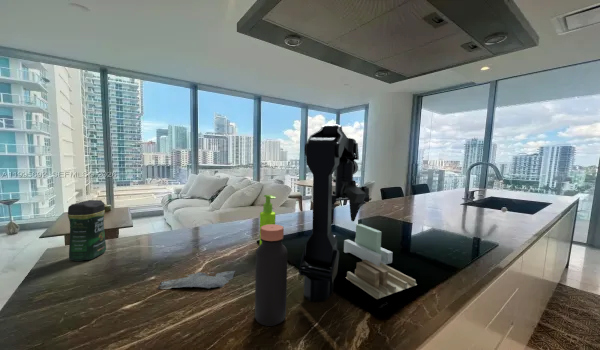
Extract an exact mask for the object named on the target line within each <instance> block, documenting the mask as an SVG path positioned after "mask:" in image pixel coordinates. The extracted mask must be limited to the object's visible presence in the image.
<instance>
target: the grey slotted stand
mask: <svg viewBox="0 0 600 350" xmlns="http://www.w3.org/2000/svg"><path fill="white" fill-rule="evenodd" d="M355 241H356V237H355V238H354V241H353V240H351V239H344V240H343V252H344V253H345V254H348V253H350V254H351V255H353V256H355V257H357V258H359V259H361V261H362V260H368V261H370V262H372V263H374V264H375V265H377V266H379V267H380V263H383V264H385V265H388V264H392V263H393V254H394V253H393V251H391V250H388V249H386V248H383V247H382V246H381V250H380V254H378V253H376V252H374V251H372V250H370V249H368V248H366V247H363V246H361V245H359V244H357V243H355Z"/></svg>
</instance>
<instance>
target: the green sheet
mask: <svg viewBox="0 0 600 350" xmlns="http://www.w3.org/2000/svg"><path fill="white" fill-rule="evenodd" d="M355 238H356V241H355V240H354V242H355V243H357V244H359V245H361V246H363V247H366V248H368V249H370V250H372V251H374V252H376V253H378V254H380V250H381V247H382V231H380V230H379V229H376V228H373V227H370V226H367V225H365V224H362V223H358V224H356V225H355Z"/></svg>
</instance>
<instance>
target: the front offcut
mask: <svg viewBox="0 0 600 350" xmlns="http://www.w3.org/2000/svg"><path fill="white" fill-rule="evenodd" d="M355 270H356V276H357V277H359V278H361V279H362V280H364V281H365V282H367V283H368V284H370V285H372V286H373V287H375V288H376V289H378V290H379V274H380V272H378V271H376V270H375V269H373V268H371V267H369V266H367V265H366V264H364V263H362V261H359V262H356V268H355Z"/></svg>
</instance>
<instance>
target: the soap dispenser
mask: <svg viewBox="0 0 600 350" xmlns="http://www.w3.org/2000/svg"><path fill="white" fill-rule="evenodd" d="M263 197H265V202H264V203H263V211H261V212H259V246H260V245H261V244H262V241H261V237H260V235H261V234H260V232H261V227H262V226H264V225H269V224H276V212H275V211H273V203H272V202H271V200H272V199H273V200H274V199H277V198H276V196H274V195H272V194H265V195H263Z"/></svg>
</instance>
